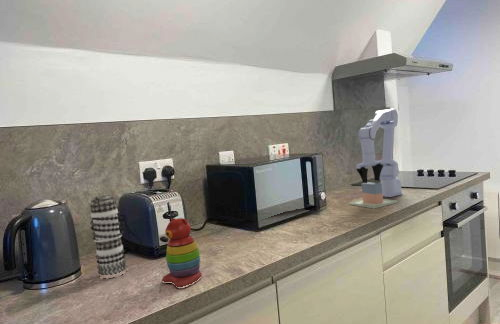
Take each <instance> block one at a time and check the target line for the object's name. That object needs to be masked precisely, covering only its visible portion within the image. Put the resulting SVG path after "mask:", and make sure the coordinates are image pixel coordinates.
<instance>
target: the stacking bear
mask: <svg viewBox="0 0 500 324" xmlns="http://www.w3.org/2000/svg"><path fill="white" fill-rule="evenodd" d="M191 231H192V229H191V223H189V221H188V220H187V219H186V218H182V217H181V218H172V217H171V219H170V221H169V222H168V224H167V226H166V228H165V232H164V233H165V234H164V235H166V238H168V239H169V240H168V242H167V246H166V254H165V255H166V256H165V261H166V265H167V269H168V270H169V273H167V274H165V275H163V277H162V278H161V279H162V280H161V282H162V281H164V282H172V283H174V284H175V285H174V287H175V286H177V287H183V286H186V285H189V284H192V283H193V282H195V281H197V280H198V279H199V278H200V277H201V276H203V275H202V272H201V271H200V268H201V266H200V265H201V254H200V250H199V247H198V244H197V242H196V241H195V239H194V238H193V237H192V236H190V235H191ZM201 278H202V277H201Z"/></svg>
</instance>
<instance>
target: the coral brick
mask: <svg viewBox="0 0 500 324" xmlns="http://www.w3.org/2000/svg"><path fill="white" fill-rule="evenodd" d="M361 193H362V192H361ZM361 195H362V200H363V202H367V203H373V204H379V203H383V199H384V196H383V193H380V194H369V193H362V194H361Z"/></svg>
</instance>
